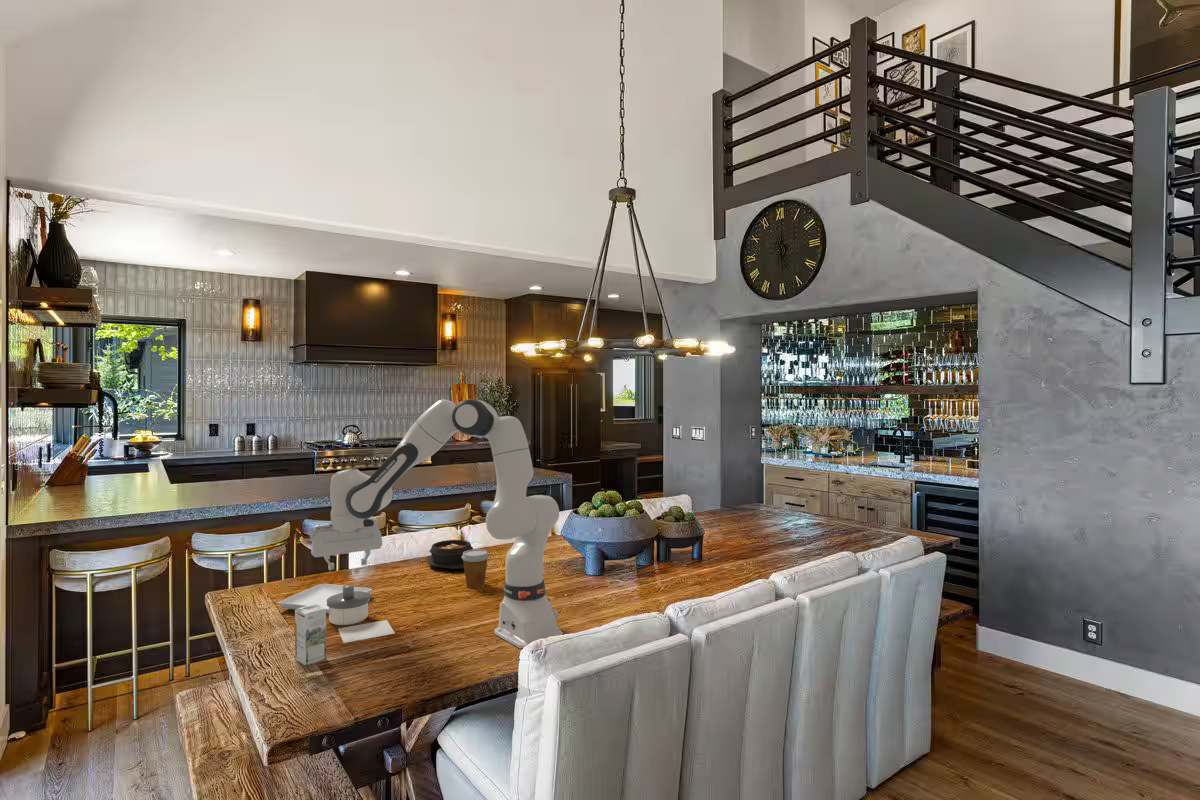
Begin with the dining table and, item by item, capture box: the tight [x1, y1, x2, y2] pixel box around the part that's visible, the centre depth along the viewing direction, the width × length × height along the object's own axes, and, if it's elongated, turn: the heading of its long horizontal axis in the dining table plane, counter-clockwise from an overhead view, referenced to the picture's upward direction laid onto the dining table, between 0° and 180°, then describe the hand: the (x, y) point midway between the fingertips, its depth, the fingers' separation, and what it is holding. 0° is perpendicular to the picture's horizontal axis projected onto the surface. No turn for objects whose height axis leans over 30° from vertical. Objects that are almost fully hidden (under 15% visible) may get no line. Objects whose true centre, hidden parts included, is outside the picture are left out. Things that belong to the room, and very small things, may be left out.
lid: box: [327, 584, 371, 609], centre depth 203 cm, size 12×12×5 cm
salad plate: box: [277, 583, 372, 615], centre depth 219 cm, size 21×21×3 cm
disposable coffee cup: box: [462, 549, 490, 589], centre depth 237 cm, size 10×10×12 cm
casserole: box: [426, 539, 474, 570], centre depth 263 cm, size 25×19×8 cm
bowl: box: [328, 602, 369, 626], centre depth 203 cm, size 11×11×6 cm
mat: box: [337, 619, 396, 644], centre depth 193 cm, size 12×14×1 cm
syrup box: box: [294, 604, 327, 666], centre depth 174 cm, size 6×6×14 cm
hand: (347, 567), depth 202 cm, fingers open, 8 cm apart
